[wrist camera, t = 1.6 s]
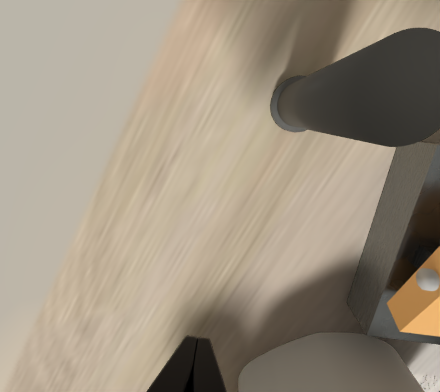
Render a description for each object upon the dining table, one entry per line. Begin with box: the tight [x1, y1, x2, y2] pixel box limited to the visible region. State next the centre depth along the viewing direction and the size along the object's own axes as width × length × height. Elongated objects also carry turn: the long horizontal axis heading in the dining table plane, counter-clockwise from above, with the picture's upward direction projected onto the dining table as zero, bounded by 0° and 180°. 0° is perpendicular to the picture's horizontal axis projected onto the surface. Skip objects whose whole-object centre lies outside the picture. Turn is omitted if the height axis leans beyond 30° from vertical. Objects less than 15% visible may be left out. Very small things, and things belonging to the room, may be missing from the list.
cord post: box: [270, 28, 440, 147], centre depth 10 cm, size 3×3×10 cm
